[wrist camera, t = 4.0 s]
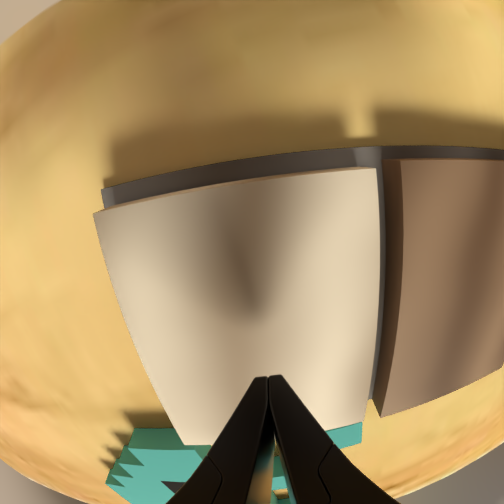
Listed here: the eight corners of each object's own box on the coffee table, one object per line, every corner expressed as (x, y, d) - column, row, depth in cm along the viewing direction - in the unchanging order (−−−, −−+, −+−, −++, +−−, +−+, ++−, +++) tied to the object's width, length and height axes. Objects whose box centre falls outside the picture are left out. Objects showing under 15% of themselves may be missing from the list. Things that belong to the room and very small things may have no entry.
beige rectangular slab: (367, 165, 9) (386, 167, 8) (362, 399, 13) (371, 418, 12) (111, 206, 10) (92, 213, 8) (187, 424, 13) (184, 445, 12)
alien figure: (351, 393, 14) (67, 417, 15) (362, 421, 12) (56, 437, 13) (350, 501, 20) (174, 515, 21) (353, 516, 18) (172, 529, 19)
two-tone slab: (523, 152, 9) (546, 155, 7) (496, 347, 13) (510, 362, 11) (104, 188, 10) (80, 195, 8) (182, 418, 14) (176, 442, 12)
